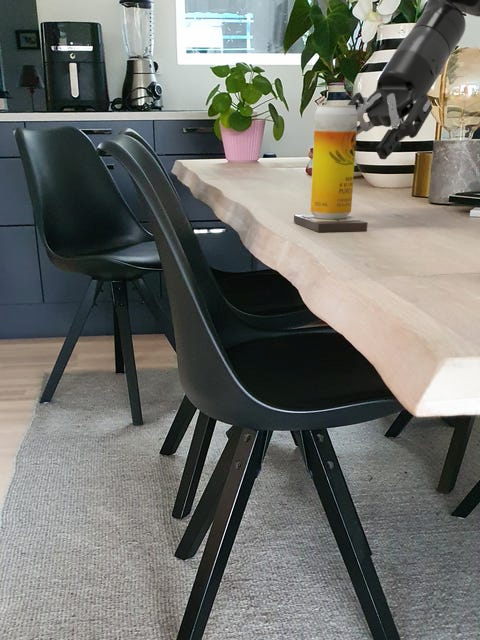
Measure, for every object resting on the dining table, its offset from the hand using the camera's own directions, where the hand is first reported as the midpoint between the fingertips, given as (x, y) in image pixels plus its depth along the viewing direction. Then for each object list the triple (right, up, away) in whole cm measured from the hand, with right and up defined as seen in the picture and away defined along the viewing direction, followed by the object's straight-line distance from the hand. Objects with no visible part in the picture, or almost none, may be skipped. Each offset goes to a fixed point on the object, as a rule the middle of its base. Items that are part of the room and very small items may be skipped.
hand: (357, 153), depth 119 cm
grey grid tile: (-4, -11, +1) cm, 11 cm away
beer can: (-4, -9, +1) cm, 10 cm away
